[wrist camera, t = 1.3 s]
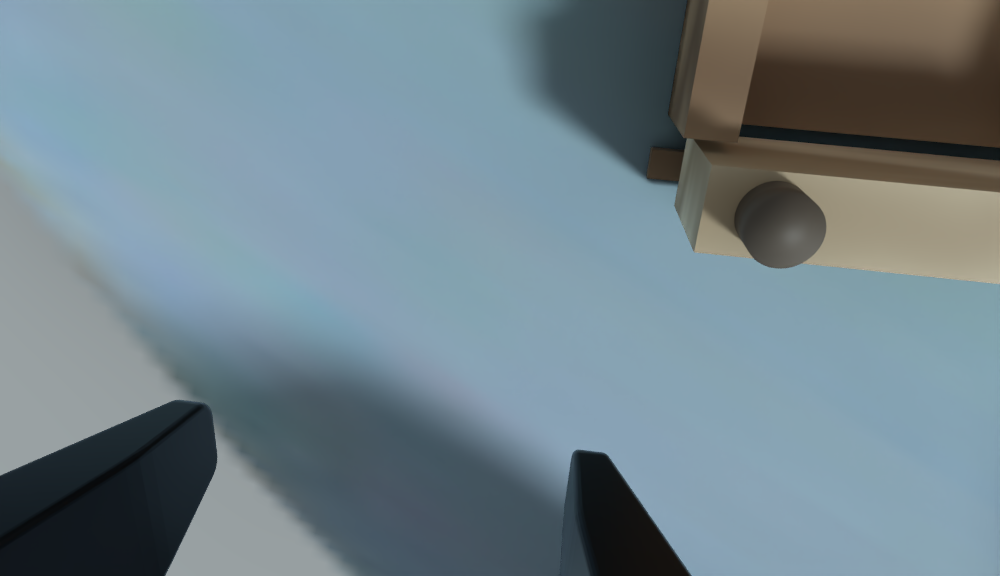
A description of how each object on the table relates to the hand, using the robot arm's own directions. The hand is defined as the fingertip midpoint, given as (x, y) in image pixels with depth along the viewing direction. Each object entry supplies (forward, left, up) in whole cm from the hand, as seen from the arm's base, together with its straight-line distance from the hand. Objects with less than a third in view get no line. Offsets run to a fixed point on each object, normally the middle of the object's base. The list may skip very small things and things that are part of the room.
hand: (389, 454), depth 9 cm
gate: (+4, -9, -11) cm, 15 cm away
